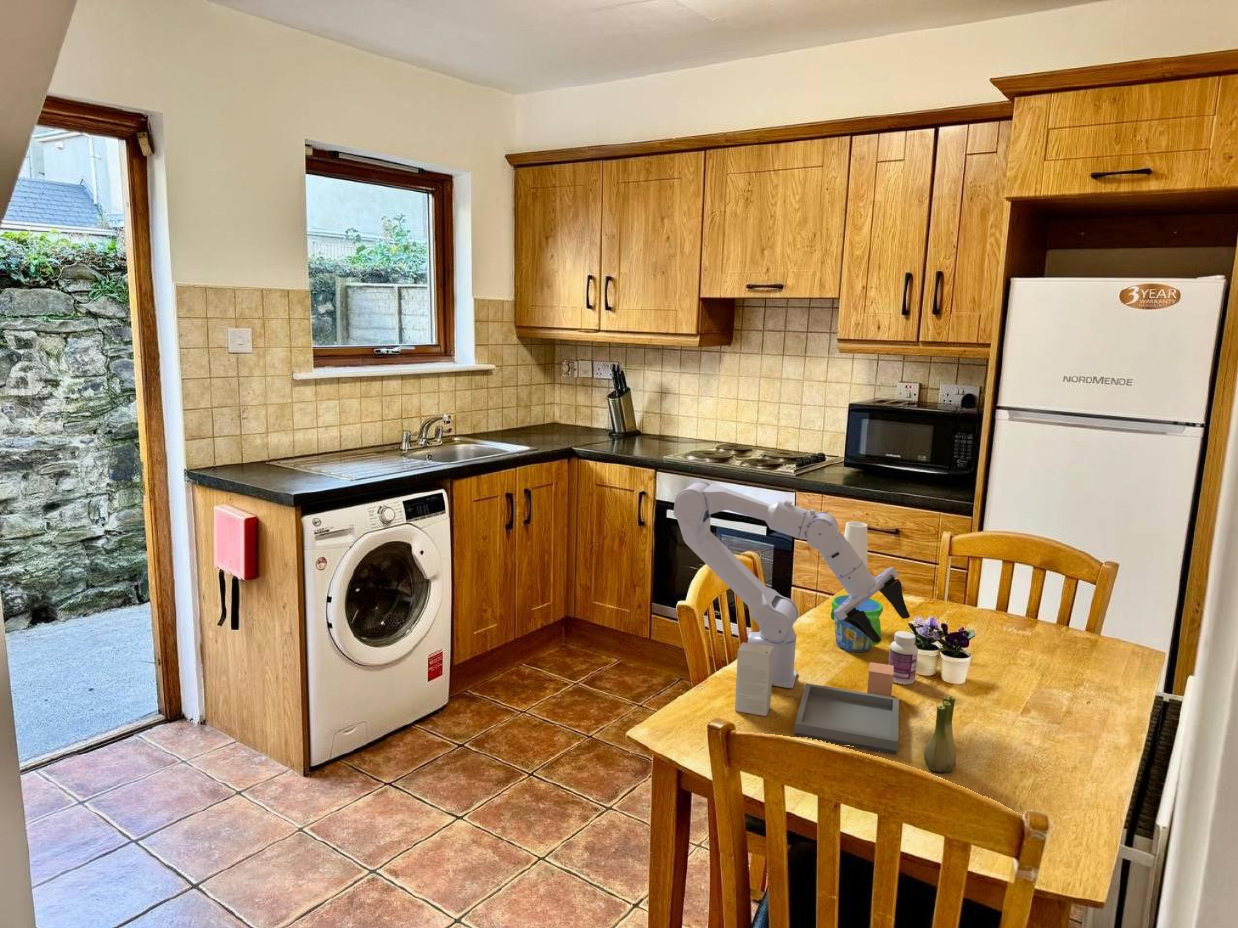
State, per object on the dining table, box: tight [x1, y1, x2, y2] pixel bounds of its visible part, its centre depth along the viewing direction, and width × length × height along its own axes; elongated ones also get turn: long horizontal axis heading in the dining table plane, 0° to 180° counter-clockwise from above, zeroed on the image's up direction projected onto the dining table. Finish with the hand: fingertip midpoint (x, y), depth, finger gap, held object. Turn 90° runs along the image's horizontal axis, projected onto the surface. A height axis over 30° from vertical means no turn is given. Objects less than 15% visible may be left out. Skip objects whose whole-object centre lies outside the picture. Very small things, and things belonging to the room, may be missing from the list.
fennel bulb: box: [923, 695, 957, 773], centre depth 139 cm, size 6×5×12 cm
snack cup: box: [830, 594, 884, 653], centre depth 187 cm, size 16×10×10 cm
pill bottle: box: [887, 630, 919, 686], centre depth 171 cm, size 5×5×10 cm
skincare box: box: [734, 641, 774, 717], centre depth 157 cm, size 6×4×12 cm
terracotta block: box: [866, 661, 894, 697], centre depth 164 cm, size 4×4×6 cm
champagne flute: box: [833, 521, 869, 623], centre depth 201 cm, size 7×7×24 cm
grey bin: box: [793, 682, 900, 756], centre depth 153 cm, size 17×17×2 cm
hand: (892, 629), depth 162 cm, fingers open, 7 cm apart
